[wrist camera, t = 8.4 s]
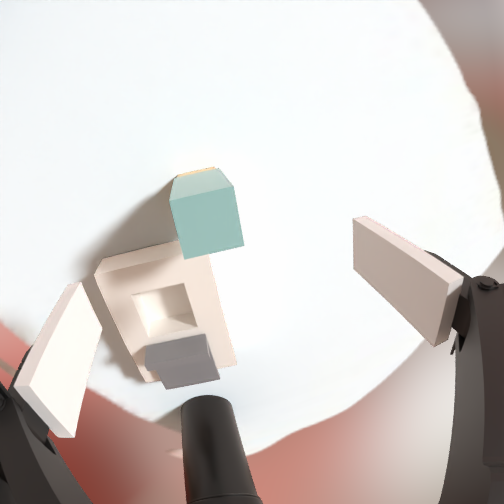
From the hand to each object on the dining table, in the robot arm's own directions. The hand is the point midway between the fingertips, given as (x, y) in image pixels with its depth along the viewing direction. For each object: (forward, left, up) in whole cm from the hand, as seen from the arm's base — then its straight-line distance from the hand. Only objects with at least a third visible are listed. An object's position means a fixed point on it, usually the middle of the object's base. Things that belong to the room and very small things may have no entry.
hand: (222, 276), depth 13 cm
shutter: (+14, -14, -15) cm, 24 cm away
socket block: (+9, -11, -19) cm, 24 cm away
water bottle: (+28, -21, -19) cm, 40 cm away
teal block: (0, 0, -19) cm, 19 cm away
